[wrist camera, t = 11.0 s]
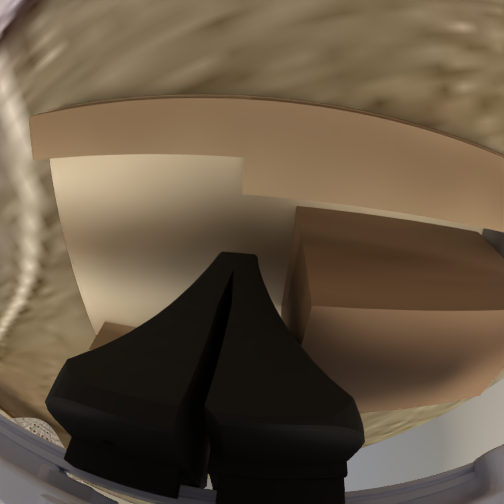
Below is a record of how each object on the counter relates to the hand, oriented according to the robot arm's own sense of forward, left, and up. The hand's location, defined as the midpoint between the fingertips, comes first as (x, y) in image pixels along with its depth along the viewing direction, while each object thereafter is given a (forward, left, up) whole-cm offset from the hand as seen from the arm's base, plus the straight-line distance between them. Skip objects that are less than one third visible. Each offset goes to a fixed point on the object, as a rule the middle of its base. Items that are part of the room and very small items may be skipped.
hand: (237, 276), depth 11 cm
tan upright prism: (0, -6, -1) cm, 6 cm away
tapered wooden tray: (0, -2, -2) cm, 3 cm away
